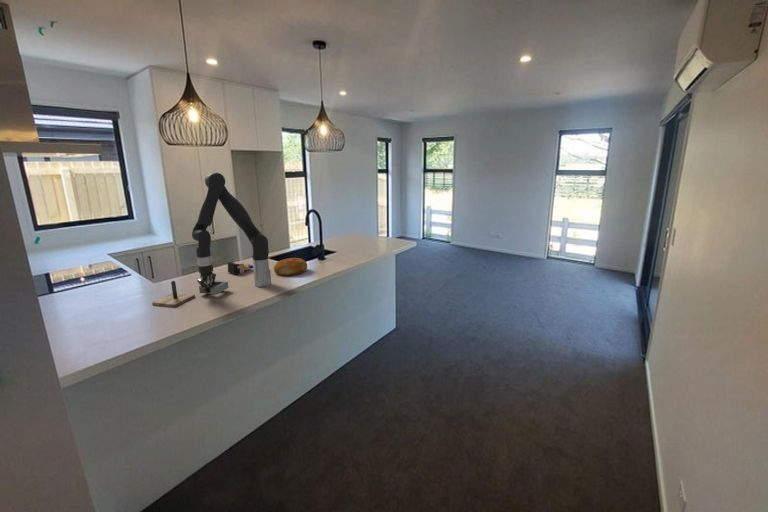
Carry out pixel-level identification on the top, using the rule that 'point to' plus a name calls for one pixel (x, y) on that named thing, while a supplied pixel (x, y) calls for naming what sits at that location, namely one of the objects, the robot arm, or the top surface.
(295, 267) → the bread
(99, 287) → the top surface
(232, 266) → the toy
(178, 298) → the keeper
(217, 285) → the link
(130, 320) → the top surface
